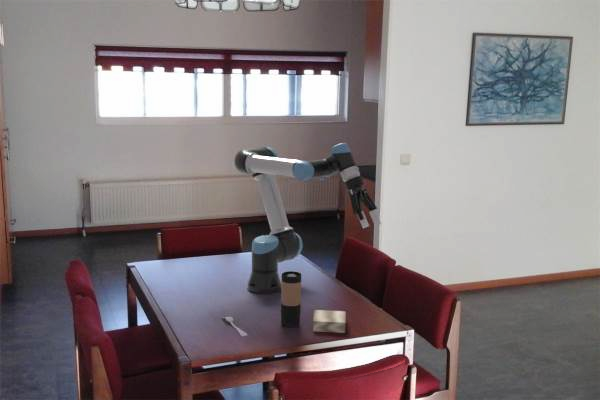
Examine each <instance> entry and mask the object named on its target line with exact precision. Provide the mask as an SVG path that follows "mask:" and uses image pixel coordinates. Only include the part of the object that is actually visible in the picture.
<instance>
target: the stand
mask: <svg viewBox="0 0 600 400" xmlns="http://www.w3.org/2000/svg"><path fill="white" fill-rule="evenodd" d="M346 321H347V320H346V311H344V310H343V311H342V310H328V309H327V310H323V309H314V313H313V321H312V322H313V323H312V324H313V326H312V332H320V333H321V332H323V333H338V334H339V333H340V334H341V333H342V334H346Z"/></svg>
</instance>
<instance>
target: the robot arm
mask: <svg viewBox="0 0 600 400" xmlns="http://www.w3.org/2000/svg"><path fill="white" fill-rule="evenodd" d="M330 152H331V154H330V155H329V156H327V157H325V158H323V159H315V160H303V159H302V160H299V159H292V158H284V157H279V156H278V155H279V154H278V153H277V152H276V150H274V149H273V148H271V147H270V146H257V147H246V148H242V149H240V150H239V151H238V152H237V153H236V154H235V156H234V161H233V162H234V166H235V169H236V170H237V171H238V172H239V173H242V174H244V175H248V174H250V175H251V176H252V179H253V180H255V181H257V184H258V188H259V193H260V195H261V199H262V201H263V202H262V203H263V206H264V209H265V213H266V217H267V221H268V225H269V228H270V232H269V234H265V235H264V234H263V235H259V236H257V237H254V239H253V240H252V243H251V245H252V246H251V273H250V275H249V277H248V278H249V279H248V281H247V290H248V291H249V292H251V293H256V294H264V295H265V294H267V295H268V294H274V293H278V292H281V285H282V280H281V278H280V274H279V271H278V270H279V263H283V262H285V261H291V260H293V259H295V258H297V257H299V256H300V255H301V252H302V251H303V246H304V245H303V240H302V237H301V236H300V235H299V234H298V233H296V232H295V230H294V227H292V226H290V225H289V224H290V223H289V221H288V218H287V214H286V211H285V207H284V204H283V199H282V196H281V192H280V189H279V186H278V182H277V179H276V176H281V177H289V178H294V179H296V180H299V181H309V180H312V179H313V180H314V179H317V180H320V181H324V180H325V179H328V178H329V177H331V176H332V175H334V174H336V173H337V172H339V173H340V176H341V179H342V181H343V182H344V186H345V188H346V190H347V192H348V194H349V198H350V204H351V208H352V209H351V210H352V213H353V214H354V215H357V218H358V221H359V222H360V226H361V227H362V229H367V228H368V227H370V224H369V222H368V220H367V217H366V214H365V213H364V210H362V203H363V204H364V206H365V207H366V208H367V209H368V211H369V216H370V217H371V219H372V220H371V221H372V222H373V223H372V224H373V225H374V226H375V227H377V226H379V225H382V223H381V222H382V221H381V219H380V218H379V214H378V213H377V209H378V207H377V205H376V204H375V202H374V201H373V199H372V197H371V196H370V194H369V192H368V190H367V189H366V187H364V188H363V187H362V186H364V185H365V182H364V180H363V177H362V176H361V173H360V171H359V170H360V168H359V167H358V166H357V164H356V161H355V159H354V156H353V153H352V151H351V149H350V147H349V145H348V143H346V142H341V143H338V144H336V145H334V146H332V147H331V148H330Z"/></svg>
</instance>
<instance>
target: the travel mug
mask: <svg viewBox="0 0 600 400" xmlns="http://www.w3.org/2000/svg"><path fill="white" fill-rule="evenodd" d="M280 293H281V294H280V323H281V326H282V327H285V328H297V327H299V326H300V322H301V308H302V273H301V272H298V271H285V272H282V273H281V290H280Z"/></svg>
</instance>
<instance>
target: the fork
mask: <svg viewBox="0 0 600 400" xmlns="http://www.w3.org/2000/svg"><path fill="white" fill-rule="evenodd" d="M223 319H225V320H226V321H227V322H229V324H230V325H232V327H233V328H235V330H236V331H237V333H238V334H239V335H240V336H241V337H245V336H248V333H246V332H245V331H243V329H241V328H239V327H237V326H236V324H234V323H233V322H234V318H233V317H232V316H226V317H223Z"/></svg>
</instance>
